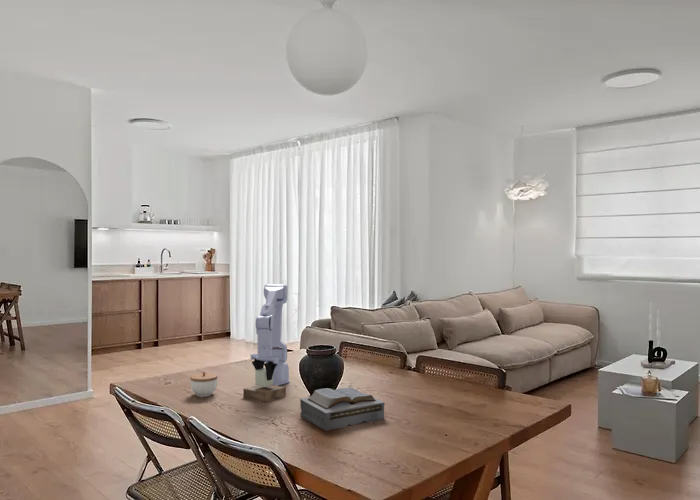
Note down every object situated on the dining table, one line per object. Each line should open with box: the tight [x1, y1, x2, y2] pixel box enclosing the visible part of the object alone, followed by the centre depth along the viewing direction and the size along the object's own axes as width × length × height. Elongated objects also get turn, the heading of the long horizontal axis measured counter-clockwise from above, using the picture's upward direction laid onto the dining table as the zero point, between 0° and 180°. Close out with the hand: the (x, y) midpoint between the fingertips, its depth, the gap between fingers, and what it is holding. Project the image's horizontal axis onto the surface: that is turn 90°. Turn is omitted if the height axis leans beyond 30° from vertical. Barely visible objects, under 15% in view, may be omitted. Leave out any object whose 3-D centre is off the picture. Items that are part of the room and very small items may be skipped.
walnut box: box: [242, 385, 287, 403], centre depth 225 cm, size 12×12×4 cm
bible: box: [299, 386, 385, 431], centre depth 198 cm, size 23×27×10 cm
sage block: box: [254, 367, 273, 387], centre depth 224 cm, size 5×5×6 cm
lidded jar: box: [190, 371, 218, 398], centre depth 228 cm, size 11×11×9 cm
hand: (264, 378), depth 225 cm, fingers closed on sage block, 5 cm apart
